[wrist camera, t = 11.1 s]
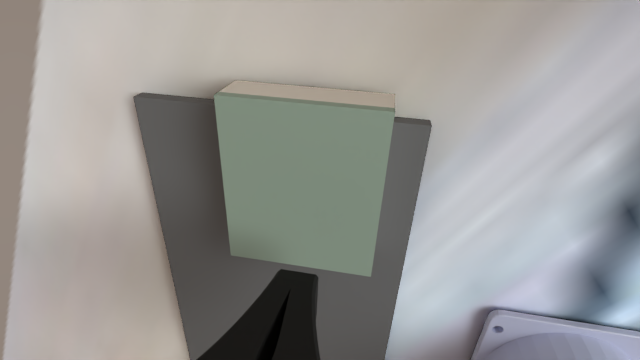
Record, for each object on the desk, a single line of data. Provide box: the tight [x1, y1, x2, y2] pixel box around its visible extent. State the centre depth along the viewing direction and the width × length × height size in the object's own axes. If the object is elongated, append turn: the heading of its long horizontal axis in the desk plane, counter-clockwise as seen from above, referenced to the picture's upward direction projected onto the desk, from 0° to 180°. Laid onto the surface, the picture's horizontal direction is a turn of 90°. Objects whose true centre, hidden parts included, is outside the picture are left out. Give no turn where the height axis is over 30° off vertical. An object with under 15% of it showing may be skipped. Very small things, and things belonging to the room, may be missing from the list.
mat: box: [134, 93, 432, 360], centre depth 20 cm, size 20×12×1 cm, turn 177°
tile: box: [214, 80, 395, 277], centre depth 14 cm, size 7×2×6 cm
